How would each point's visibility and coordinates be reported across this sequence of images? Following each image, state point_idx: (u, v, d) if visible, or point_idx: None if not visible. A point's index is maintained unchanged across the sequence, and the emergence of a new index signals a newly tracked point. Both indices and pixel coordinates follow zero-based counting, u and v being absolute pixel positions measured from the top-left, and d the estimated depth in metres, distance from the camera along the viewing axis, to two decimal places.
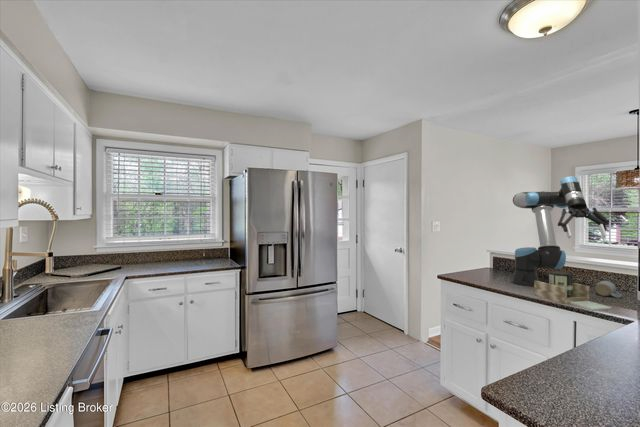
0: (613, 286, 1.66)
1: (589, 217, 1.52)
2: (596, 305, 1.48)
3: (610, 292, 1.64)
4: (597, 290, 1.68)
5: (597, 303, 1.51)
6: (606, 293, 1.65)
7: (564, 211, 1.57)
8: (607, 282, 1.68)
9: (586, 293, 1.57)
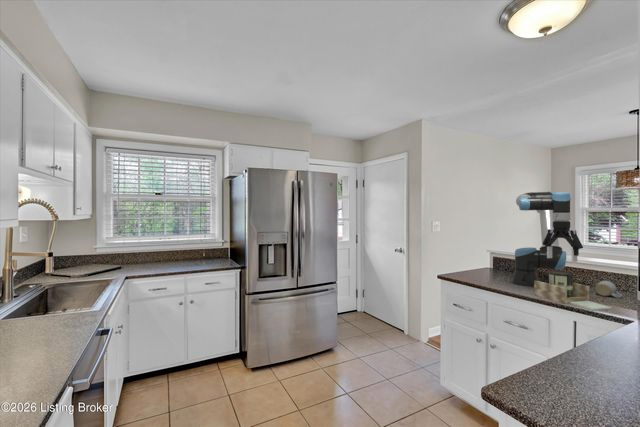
0: (613, 286, 1.66)
1: None
2: (596, 305, 1.48)
3: (610, 292, 1.64)
4: (597, 290, 1.68)
5: (597, 303, 1.51)
6: (606, 293, 1.65)
7: (548, 232, 1.69)
8: (607, 282, 1.68)
9: (586, 293, 1.57)
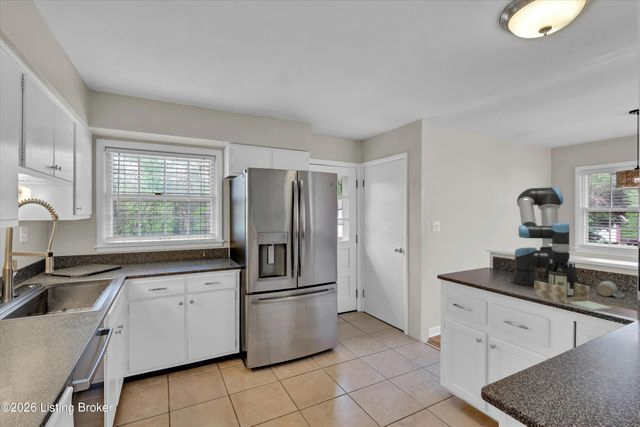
0: (615, 286, 1.66)
1: None
2: (596, 305, 1.48)
3: (612, 292, 1.63)
4: (599, 290, 1.67)
5: (597, 303, 1.51)
6: (608, 293, 1.64)
7: (548, 262, 1.69)
8: (609, 282, 1.67)
9: (586, 293, 1.57)
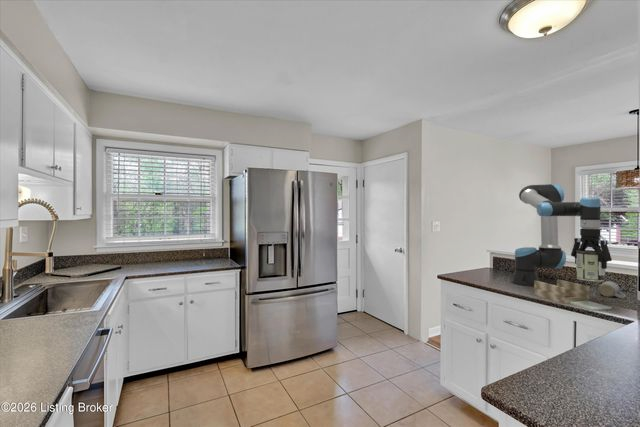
0: (617, 287, 1.65)
1: None
2: (596, 305, 1.48)
3: (614, 293, 1.63)
4: (601, 291, 1.67)
5: (597, 303, 1.51)
6: (610, 294, 1.64)
7: (575, 241, 1.55)
8: (611, 283, 1.67)
9: (586, 293, 1.57)
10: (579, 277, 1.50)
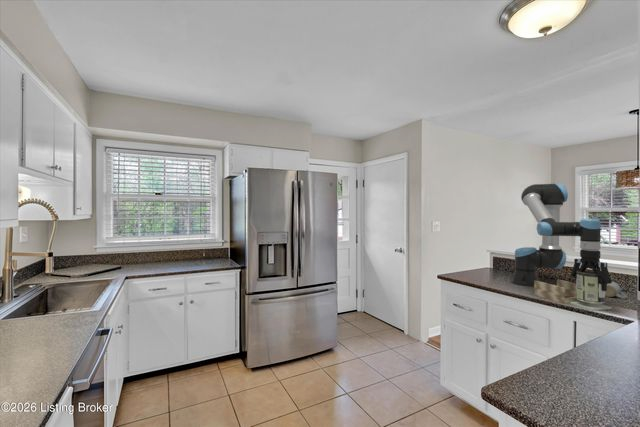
0: (618, 287, 1.65)
1: None
2: (596, 305, 1.48)
3: (615, 293, 1.62)
4: None
5: None
6: (611, 294, 1.63)
7: (575, 262, 1.55)
8: (612, 283, 1.66)
9: None
10: (579, 298, 1.50)
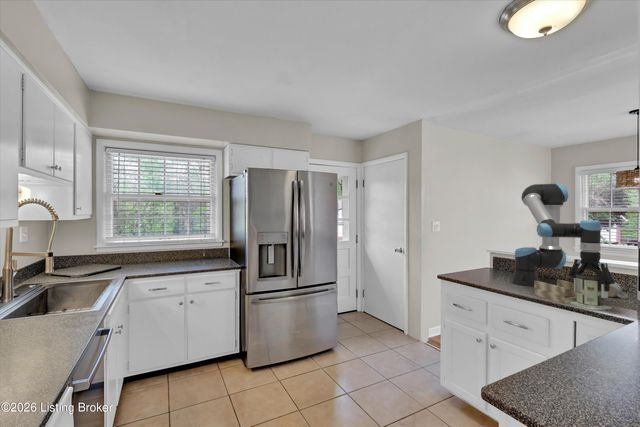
0: (619, 287, 1.64)
1: None
2: None
3: (616, 293, 1.62)
4: None
5: None
6: (612, 294, 1.63)
7: (575, 262, 1.55)
8: None
9: None
10: (579, 302, 1.50)
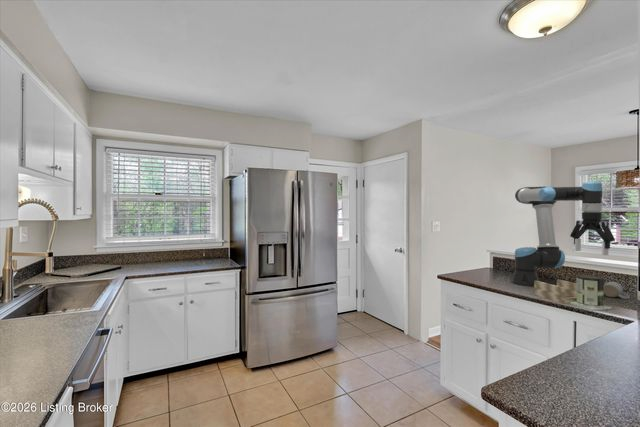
0: (620, 287, 1.64)
1: None
2: None
3: (617, 293, 1.61)
4: (604, 291, 1.66)
5: None
6: (613, 294, 1.62)
7: (577, 223, 1.61)
8: (614, 283, 1.65)
9: None
10: (579, 302, 1.50)
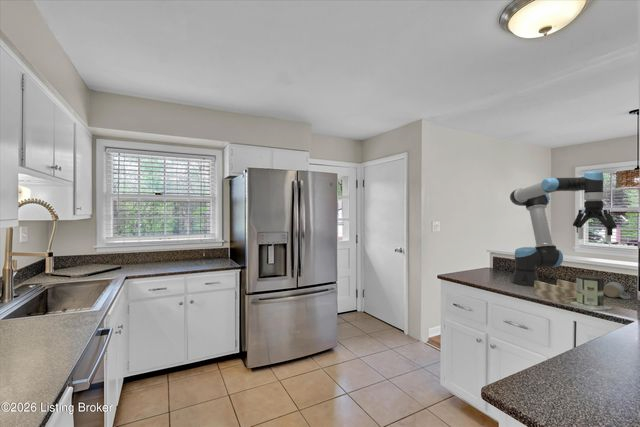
0: (621, 287, 1.64)
1: None
2: None
3: (619, 293, 1.61)
4: (605, 291, 1.65)
5: None
6: (614, 294, 1.62)
7: (579, 213, 1.66)
8: (615, 283, 1.65)
9: None
10: (579, 302, 1.50)
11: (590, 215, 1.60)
